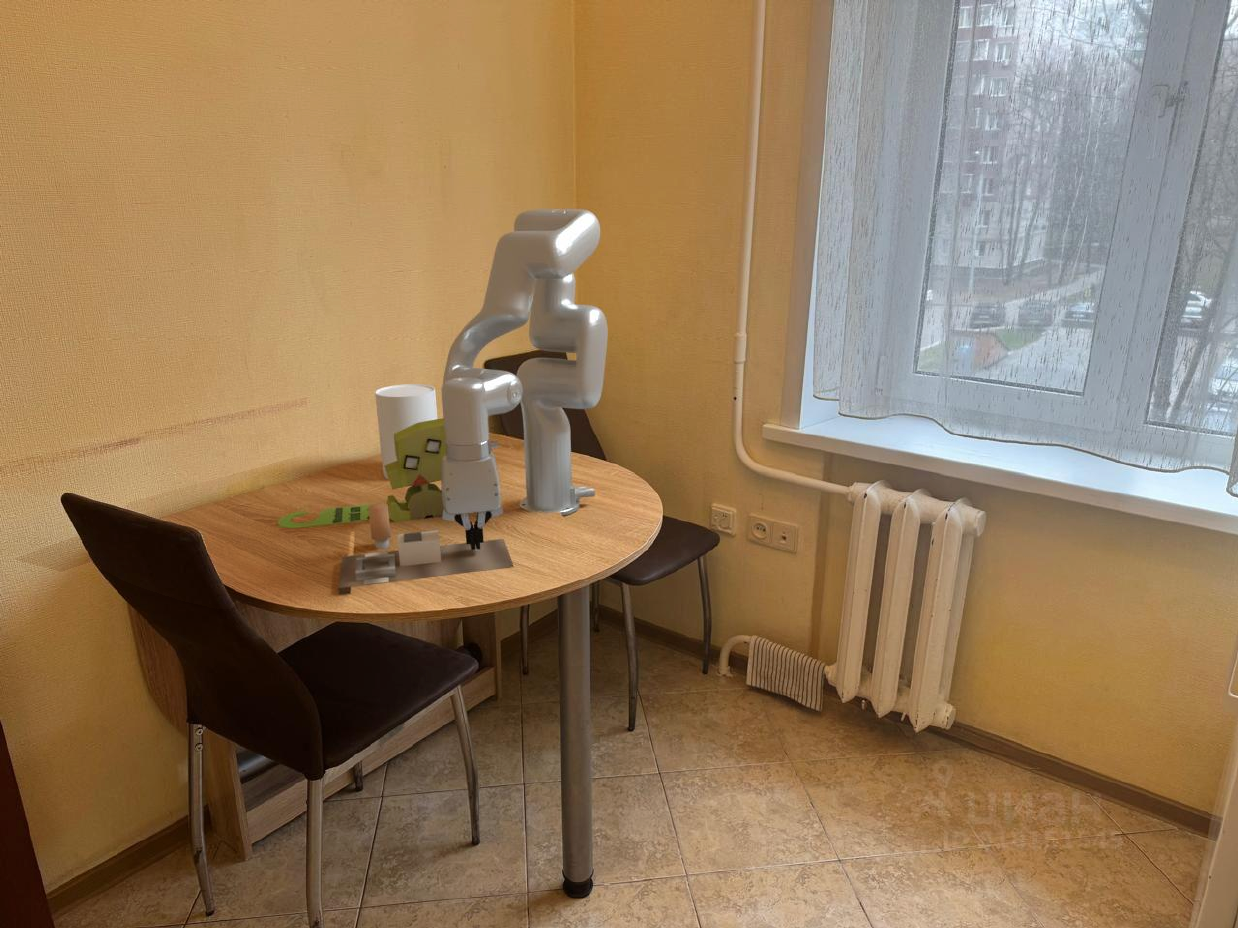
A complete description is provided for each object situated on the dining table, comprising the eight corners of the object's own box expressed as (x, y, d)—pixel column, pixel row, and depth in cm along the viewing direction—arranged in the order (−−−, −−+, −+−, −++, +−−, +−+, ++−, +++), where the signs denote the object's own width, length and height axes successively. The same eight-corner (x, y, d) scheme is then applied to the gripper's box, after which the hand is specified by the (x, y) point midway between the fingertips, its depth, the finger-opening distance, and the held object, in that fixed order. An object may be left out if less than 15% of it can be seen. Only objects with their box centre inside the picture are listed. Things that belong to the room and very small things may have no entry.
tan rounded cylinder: (392, 547, 155) (387, 502, 152) (392, 554, 152) (387, 508, 149) (373, 549, 154) (368, 504, 151) (373, 556, 151) (368, 510, 148)
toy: (389, 529, 164) (380, 431, 158) (387, 519, 169) (377, 424, 163) (469, 518, 169) (463, 423, 163) (464, 508, 174) (458, 416, 168)
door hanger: (403, 502, 179) (280, 515, 172) (403, 500, 179) (279, 513, 172) (405, 518, 170) (276, 532, 164) (405, 515, 170) (275, 529, 163)
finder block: (439, 550, 150) (437, 528, 149) (441, 561, 146) (439, 538, 144) (400, 555, 149) (397, 532, 147) (400, 566, 144) (398, 543, 143)
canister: (379, 467, 201) (371, 387, 195) (435, 460, 206) (429, 382, 200) (387, 484, 189) (379, 399, 183) (446, 476, 194) (440, 393, 188)
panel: (503, 544, 156) (503, 531, 155) (514, 573, 144) (513, 558, 143) (342, 562, 148) (340, 549, 148) (339, 594, 136) (337, 579, 136)
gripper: (508, 440, 149) (513, 534, 154) (423, 447, 145) (432, 543, 151) (514, 452, 142) (519, 550, 147) (424, 459, 138) (433, 560, 144)
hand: (475, 546), depth 149 cm, fingers closed
